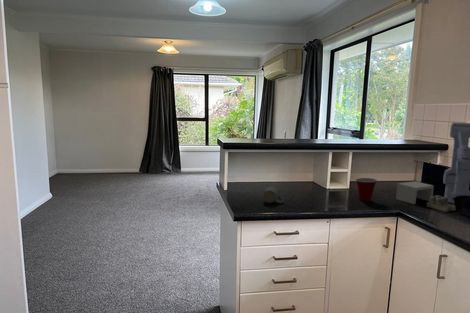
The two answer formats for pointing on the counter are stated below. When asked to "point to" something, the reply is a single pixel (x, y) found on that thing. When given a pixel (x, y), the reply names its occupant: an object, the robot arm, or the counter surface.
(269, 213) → the counter surface
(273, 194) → the ceramic mug
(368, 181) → the plastic cup
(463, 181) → the robot arm
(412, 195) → the grey rectangular box
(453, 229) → the counter surface
